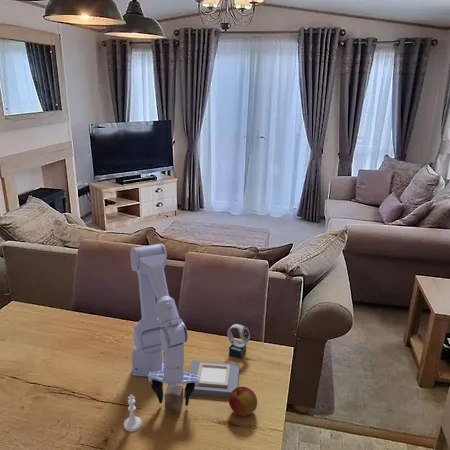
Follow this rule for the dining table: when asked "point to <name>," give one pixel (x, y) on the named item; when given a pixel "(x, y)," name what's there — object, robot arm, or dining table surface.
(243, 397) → the apple
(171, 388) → the walnut block
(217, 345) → the dining table surface
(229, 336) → the watch
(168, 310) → the robot arm
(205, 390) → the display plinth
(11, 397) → the dining table surface
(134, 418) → the chess piece
